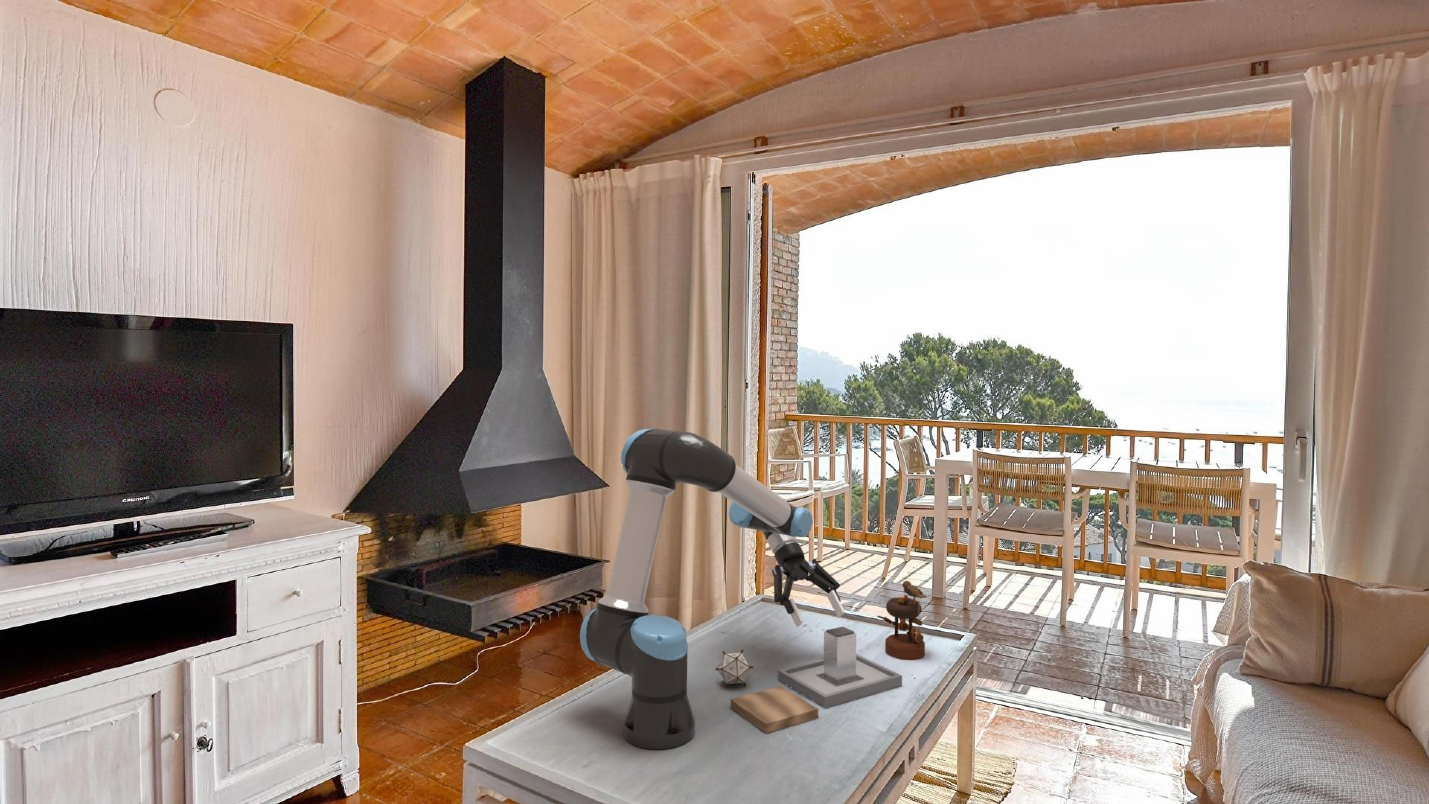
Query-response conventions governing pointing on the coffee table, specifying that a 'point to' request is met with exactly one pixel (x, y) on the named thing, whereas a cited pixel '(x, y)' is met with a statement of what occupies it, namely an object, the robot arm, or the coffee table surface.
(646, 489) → the robot arm
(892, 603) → the music box
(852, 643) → the block
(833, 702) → the grey flat frame
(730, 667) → the game die
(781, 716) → the board
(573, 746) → the coffee table surface
